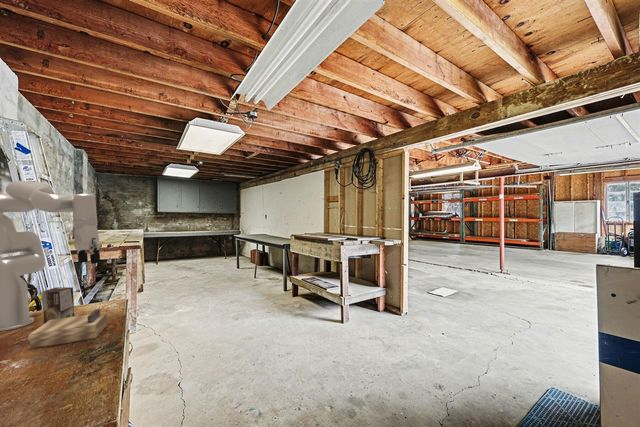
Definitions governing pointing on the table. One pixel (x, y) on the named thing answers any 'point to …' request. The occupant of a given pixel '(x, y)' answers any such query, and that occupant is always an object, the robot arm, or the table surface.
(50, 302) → the coffee box
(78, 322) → the light brown flat piece
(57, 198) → the robot arm
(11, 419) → the table surface
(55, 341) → the base
